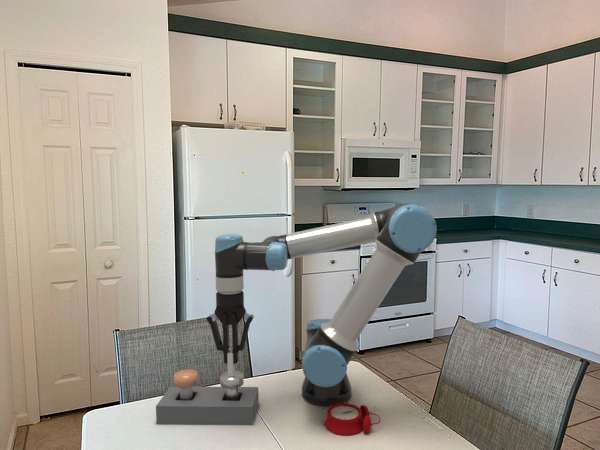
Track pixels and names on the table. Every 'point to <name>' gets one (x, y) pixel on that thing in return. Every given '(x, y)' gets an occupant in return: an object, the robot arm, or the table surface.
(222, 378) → the metal plunger
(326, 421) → the alarm clock
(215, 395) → the panel
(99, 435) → the table surface
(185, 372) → the terracotta plunger
